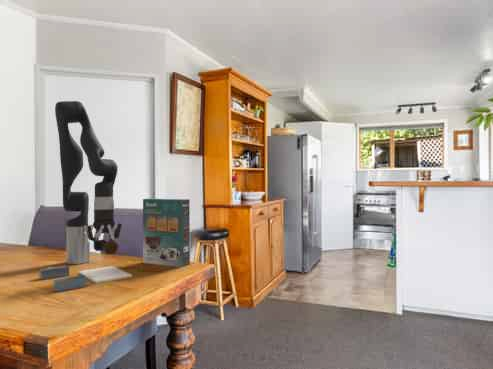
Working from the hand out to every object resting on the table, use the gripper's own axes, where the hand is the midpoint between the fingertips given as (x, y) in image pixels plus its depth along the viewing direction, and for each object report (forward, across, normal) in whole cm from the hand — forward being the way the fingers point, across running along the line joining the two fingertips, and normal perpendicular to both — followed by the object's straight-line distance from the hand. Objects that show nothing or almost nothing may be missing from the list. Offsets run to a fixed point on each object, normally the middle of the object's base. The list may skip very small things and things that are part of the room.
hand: (103, 249), depth 145 cm
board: (+10, 0, 0) cm, 10 cm away
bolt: (+1, 0, 0) cm, 1 cm away
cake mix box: (+10, -29, -2) cm, 31 cm away
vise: (+10, +16, -3) cm, 19 cm away
